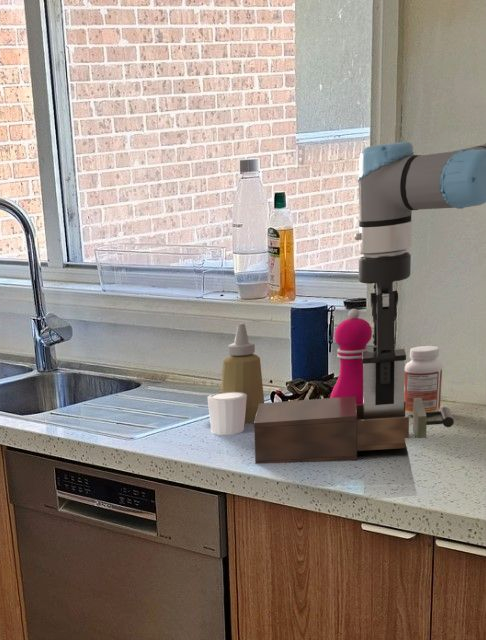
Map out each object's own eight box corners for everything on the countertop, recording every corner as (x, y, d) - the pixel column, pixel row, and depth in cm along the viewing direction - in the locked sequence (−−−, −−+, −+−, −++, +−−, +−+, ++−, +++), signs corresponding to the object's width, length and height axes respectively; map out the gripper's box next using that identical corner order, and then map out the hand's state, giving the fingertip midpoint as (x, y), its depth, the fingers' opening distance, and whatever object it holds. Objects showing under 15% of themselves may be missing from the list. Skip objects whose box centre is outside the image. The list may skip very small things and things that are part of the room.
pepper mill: (329, 433, 209) (332, 313, 201) (327, 423, 216) (330, 307, 208) (373, 431, 208) (378, 310, 199) (370, 421, 214) (375, 304, 206)
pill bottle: (414, 407, 219) (417, 344, 214) (446, 409, 214) (450, 345, 210) (395, 414, 215) (398, 350, 211) (428, 417, 211) (431, 352, 206)
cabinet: (355, 438, 205) (355, 396, 202) (356, 460, 192) (356, 415, 189) (260, 444, 210) (259, 403, 207) (255, 466, 197) (253, 423, 194)
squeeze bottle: (269, 418, 226) (270, 319, 219) (256, 428, 220) (256, 327, 213) (227, 417, 230) (226, 320, 223) (213, 428, 224) (212, 327, 217)
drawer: (448, 427, 199) (449, 395, 197) (455, 448, 188) (456, 414, 186) (328, 435, 205) (328, 404, 203) (328, 455, 194) (328, 422, 192)
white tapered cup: (206, 439, 217) (205, 400, 214) (210, 430, 223) (209, 392, 220) (245, 438, 215) (245, 398, 212) (248, 429, 221) (248, 390, 218)
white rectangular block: (403, 429, 198) (404, 348, 193) (404, 437, 193) (406, 354, 188) (361, 432, 200) (361, 352, 195) (362, 440, 195) (362, 358, 190)
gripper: (357, 247, 197) (357, 381, 206) (359, 265, 176) (359, 414, 185) (406, 242, 195) (404, 378, 203) (415, 260, 174) (412, 410, 182)
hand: (383, 395), depth 194 cm, fingers open, 12 cm apart
